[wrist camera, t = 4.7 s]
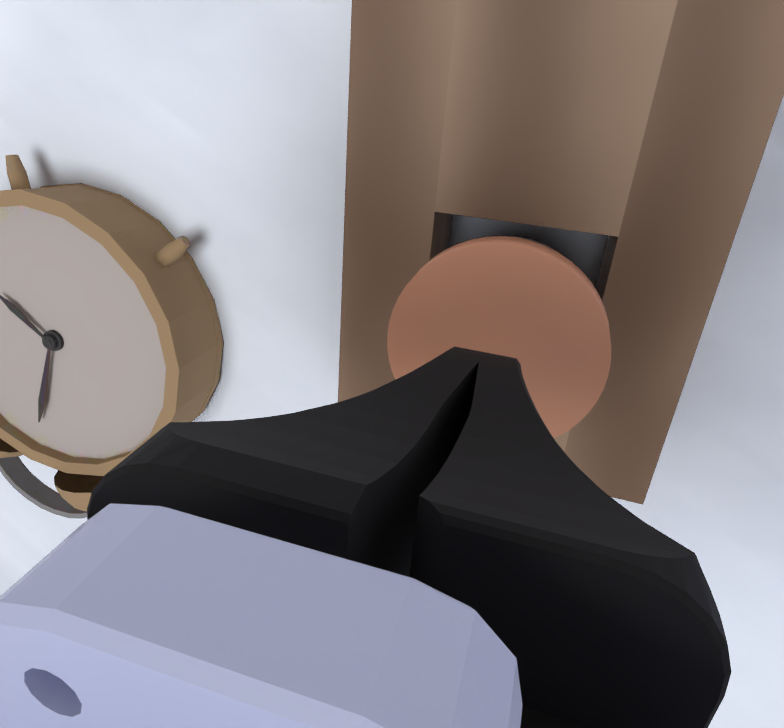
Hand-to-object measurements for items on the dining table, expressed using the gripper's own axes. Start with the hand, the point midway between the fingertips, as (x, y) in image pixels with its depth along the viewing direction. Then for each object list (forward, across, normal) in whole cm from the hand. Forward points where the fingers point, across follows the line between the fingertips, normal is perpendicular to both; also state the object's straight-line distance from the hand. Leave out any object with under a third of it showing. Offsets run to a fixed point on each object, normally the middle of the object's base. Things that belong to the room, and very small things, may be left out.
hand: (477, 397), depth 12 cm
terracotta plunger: (+6, 0, 0) cm, 6 cm away
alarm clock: (+9, +17, +6) cm, 20 cm away
